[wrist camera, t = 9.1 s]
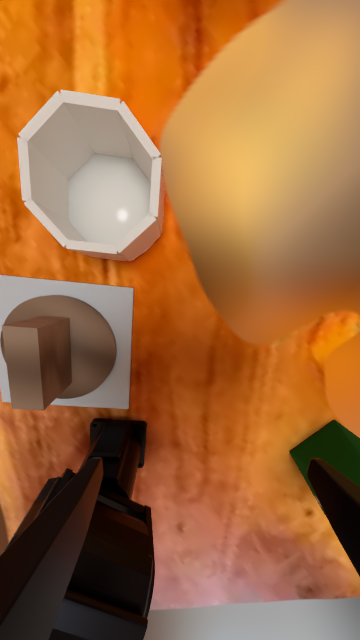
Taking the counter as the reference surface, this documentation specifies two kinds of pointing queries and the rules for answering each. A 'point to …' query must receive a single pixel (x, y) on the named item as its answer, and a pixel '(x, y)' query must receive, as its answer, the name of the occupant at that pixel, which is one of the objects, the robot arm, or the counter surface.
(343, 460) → the milk carton
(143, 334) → the counter surface
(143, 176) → the bowl
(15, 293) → the mat
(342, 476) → the robot arm
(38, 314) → the lid
